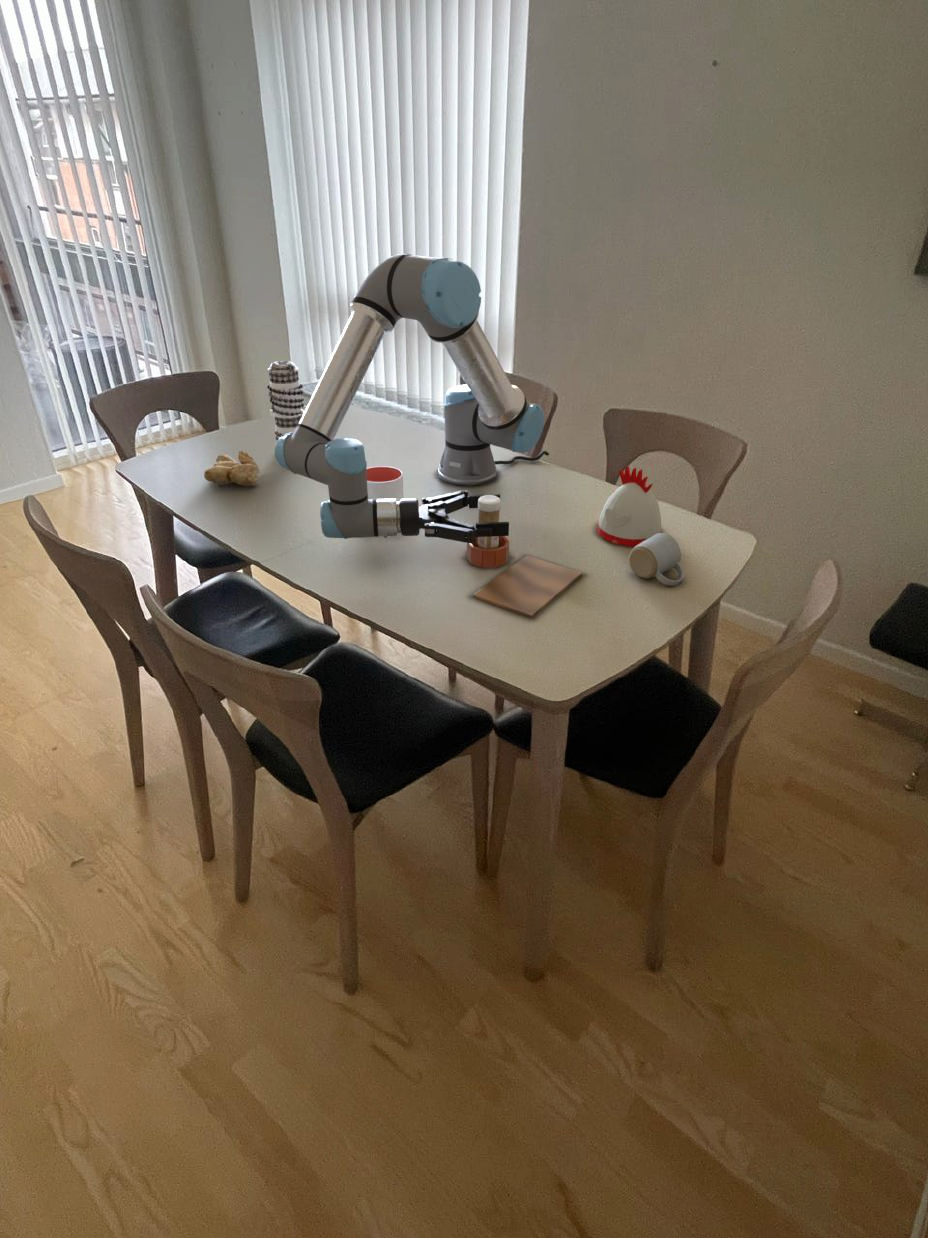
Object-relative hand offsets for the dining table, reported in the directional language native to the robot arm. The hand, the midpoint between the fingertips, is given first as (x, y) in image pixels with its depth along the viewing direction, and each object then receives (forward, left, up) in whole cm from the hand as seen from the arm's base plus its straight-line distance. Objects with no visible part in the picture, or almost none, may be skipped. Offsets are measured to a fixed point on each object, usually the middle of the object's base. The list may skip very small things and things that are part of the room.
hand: (504, 514), depth 151 cm
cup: (-2, -34, -10) cm, 36 cm away
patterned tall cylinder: (-18, -80, -10) cm, 83 cm away
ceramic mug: (-12, +30, -10) cm, 34 cm away
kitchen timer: (-27, +17, -10) cm, 33 cm away
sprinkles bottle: (+2, -2, -10) cm, 11 cm away
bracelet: (+2, -2, -10) cm, 10 cm away
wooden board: (+7, +11, -10) cm, 16 cm away
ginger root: (+5, -77, -10) cm, 78 cm away
